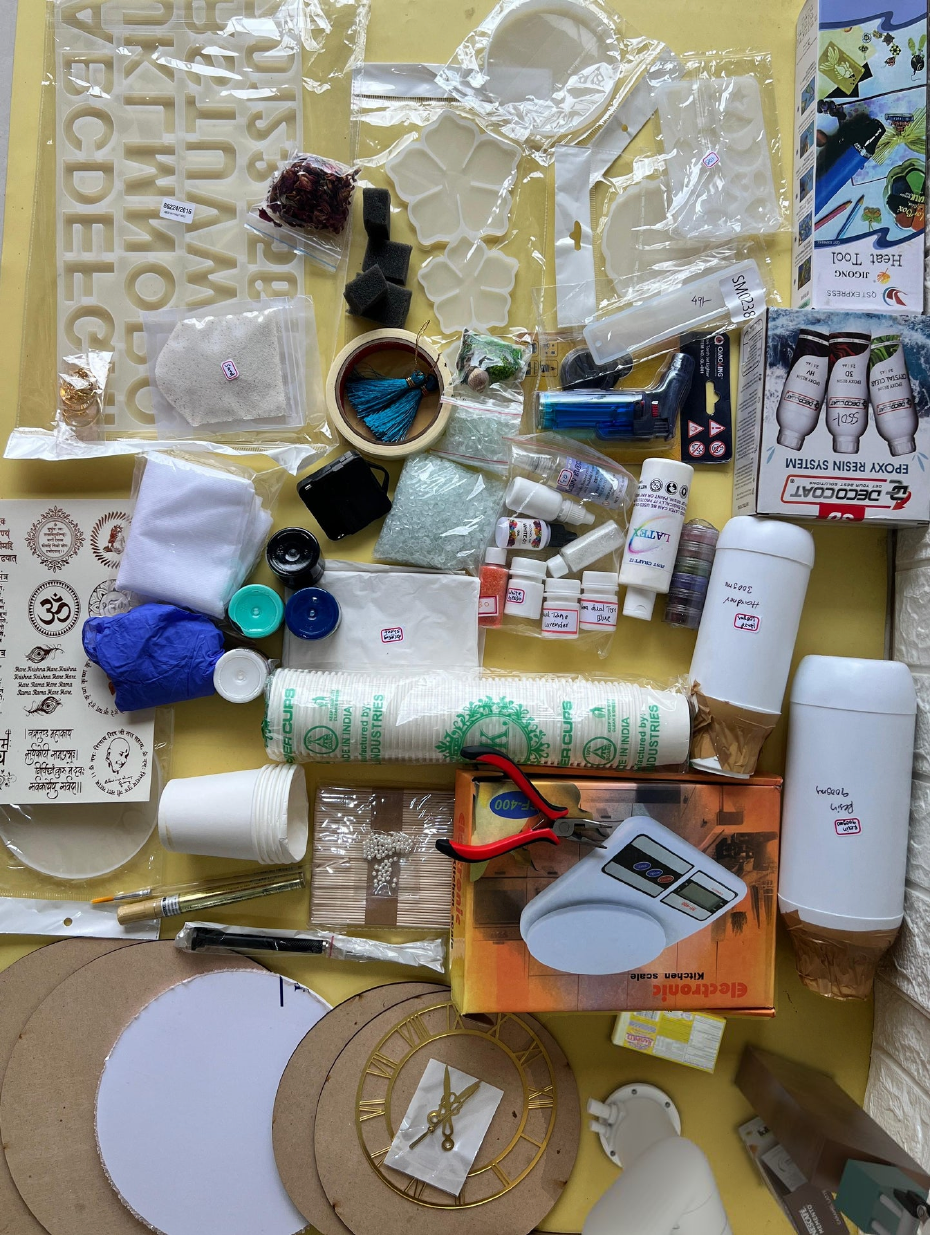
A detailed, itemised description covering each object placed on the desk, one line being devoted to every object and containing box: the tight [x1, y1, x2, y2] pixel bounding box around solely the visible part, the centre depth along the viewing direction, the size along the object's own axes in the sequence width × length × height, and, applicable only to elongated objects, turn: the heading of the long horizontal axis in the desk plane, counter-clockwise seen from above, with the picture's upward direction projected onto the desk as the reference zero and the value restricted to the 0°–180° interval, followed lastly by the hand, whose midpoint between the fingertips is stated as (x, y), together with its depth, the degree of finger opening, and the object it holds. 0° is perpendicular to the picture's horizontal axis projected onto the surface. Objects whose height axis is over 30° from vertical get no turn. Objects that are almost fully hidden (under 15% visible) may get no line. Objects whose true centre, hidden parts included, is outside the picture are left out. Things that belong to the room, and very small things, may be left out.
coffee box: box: [737, 1115, 851, 1235], centre depth 114 cm, size 9×6×16 cm
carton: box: [833, 1159, 930, 1235], centre depth 92 cm, size 9×6×9 cm, turn 68°
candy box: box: [610, 1011, 727, 1075], centre depth 122 cm, size 16×2×8 cm
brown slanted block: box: [733, 1045, 930, 1195], centre depth 110 cm, size 14×6×25 cm, turn 69°
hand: (898, 1221), depth 90 cm, fingers closed on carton, 5 cm apart
